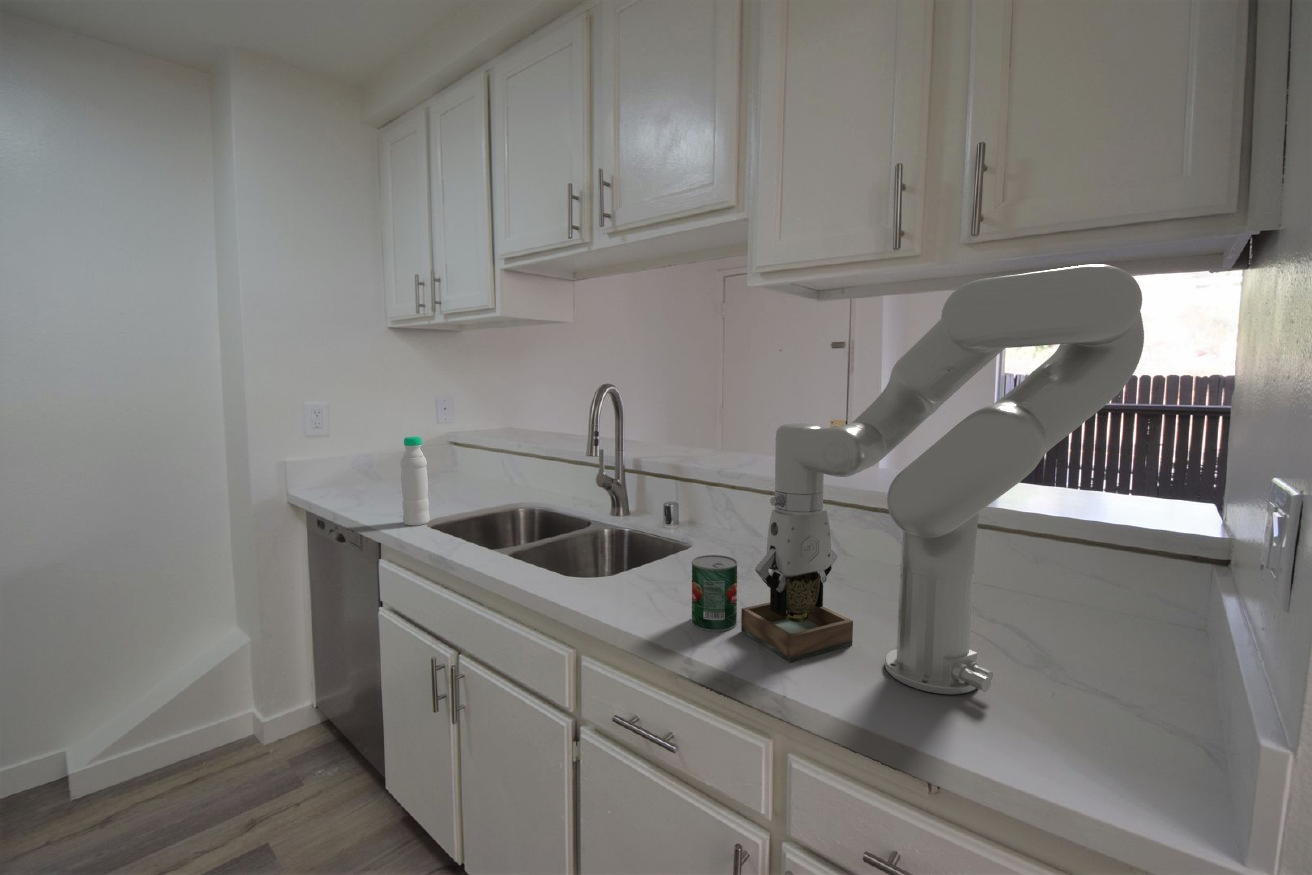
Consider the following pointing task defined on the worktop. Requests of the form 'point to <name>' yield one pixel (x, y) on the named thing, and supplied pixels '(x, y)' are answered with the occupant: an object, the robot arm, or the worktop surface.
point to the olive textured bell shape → (801, 595)
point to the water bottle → (414, 483)
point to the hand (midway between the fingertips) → (796, 607)
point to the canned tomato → (714, 593)
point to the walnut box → (797, 631)
